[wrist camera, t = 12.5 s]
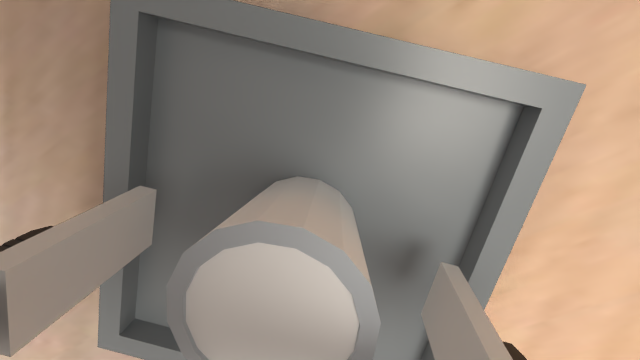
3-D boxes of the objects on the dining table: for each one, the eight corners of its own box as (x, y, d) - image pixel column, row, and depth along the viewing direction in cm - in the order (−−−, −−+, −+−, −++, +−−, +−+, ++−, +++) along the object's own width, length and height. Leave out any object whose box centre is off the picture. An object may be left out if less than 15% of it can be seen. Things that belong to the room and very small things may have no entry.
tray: (142, -15, 15) (111, -29, 13) (555, 84, 14) (586, 84, 13) (121, 322, 20) (97, 347, 19) (419, 401, 20) (427, 434, 18)
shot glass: (391, 260, 17) (416, 376, 10) (275, 303, 18) (231, 430, 12) (333, 140, 15) (318, 184, 9) (212, 197, 17) (120, 272, 10)
